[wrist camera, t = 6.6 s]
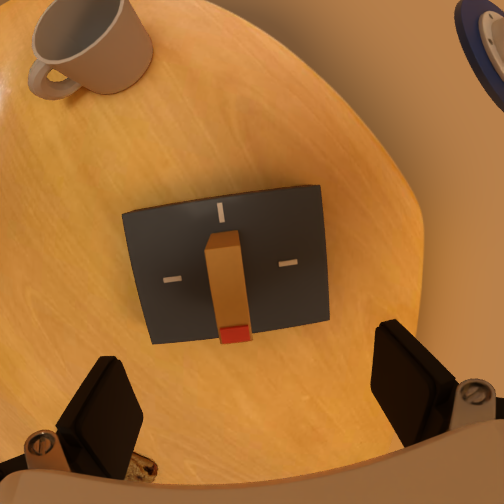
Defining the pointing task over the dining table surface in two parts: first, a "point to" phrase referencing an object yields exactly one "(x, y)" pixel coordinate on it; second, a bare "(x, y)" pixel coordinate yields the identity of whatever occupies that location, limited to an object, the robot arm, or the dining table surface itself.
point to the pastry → (141, 470)
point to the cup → (88, 48)
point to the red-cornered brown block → (228, 287)
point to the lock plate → (253, 257)
